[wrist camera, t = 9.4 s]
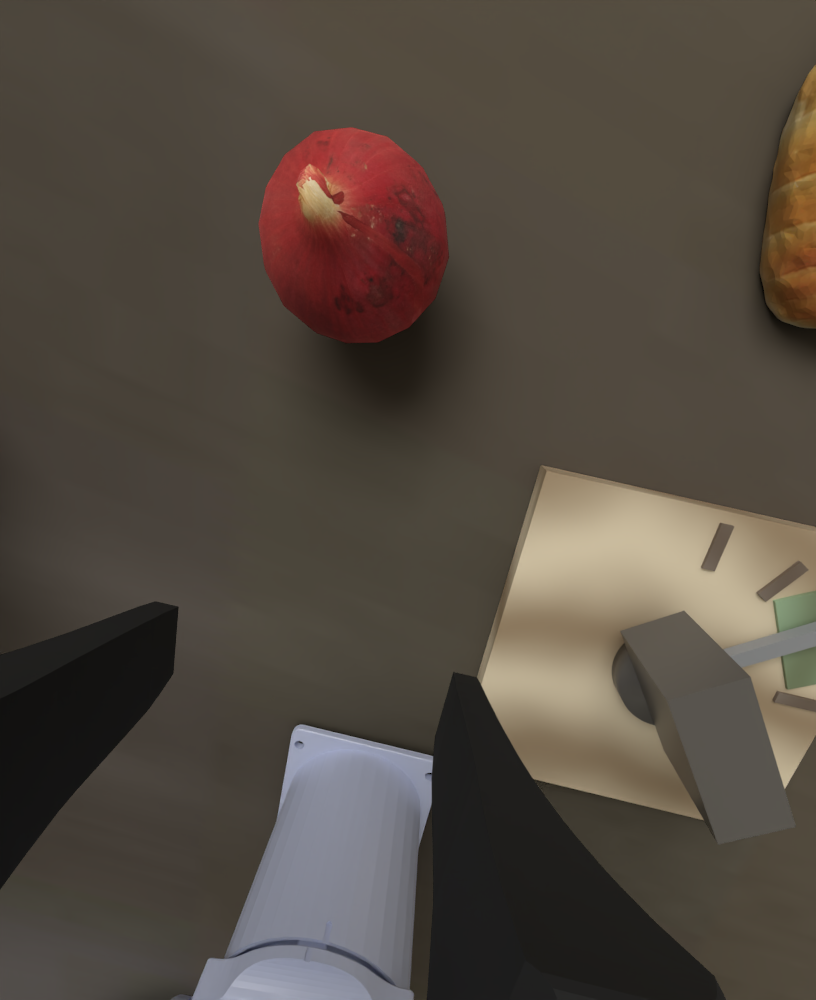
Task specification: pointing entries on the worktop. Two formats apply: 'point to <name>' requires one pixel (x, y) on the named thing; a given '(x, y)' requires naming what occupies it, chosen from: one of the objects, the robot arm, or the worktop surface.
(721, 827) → the dark angled piece
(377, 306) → the onion
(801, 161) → the pastry
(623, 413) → the worktop surface
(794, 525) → the board
